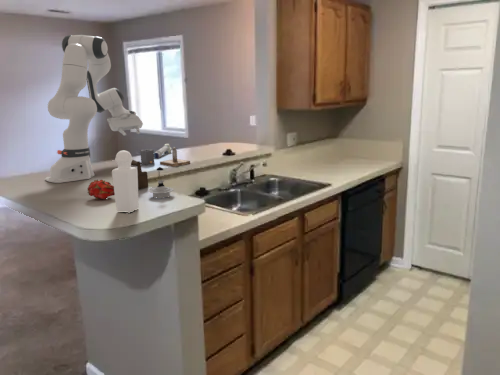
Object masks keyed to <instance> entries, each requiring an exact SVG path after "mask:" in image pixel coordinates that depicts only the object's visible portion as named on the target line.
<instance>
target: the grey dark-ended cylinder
mask: <svg viewBox="0 0 500 375" xmlns="http://www.w3.org/2000/svg"><path fill="white" fill-rule="evenodd" d="M172 150H173V147H171V145H170V143H165V144H164V145H163V146H162V147H161V148H159V149H158V150H156V151H155V152H154V159H159V158H160V157H161V158H162V155H163V154H172Z"/></svg>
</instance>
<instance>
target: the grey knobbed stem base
mask: <svg viewBox="0 0 500 375" xmlns="http://www.w3.org/2000/svg"><path fill="white" fill-rule="evenodd" d="M156 171H158V173H157V176H158V179H159V178H160V179H159V180H157V183H158V185H157V186H156V187H154V188H153V187H152V188H150V189H148V192H149V193H151V194H152V197H153V198H154V197H157V198H162V199H164V198H163V197H168V196H171V192H173V191H175V189H174V188H173V187H168V186H165V184H164V180H162V179H161V177H160V176H161V175H160V174H161V173H160V171H164V168H163V167H161V166H159V167H157V168H156ZM157 198H156V199H157ZM168 198H169V197H168Z"/></svg>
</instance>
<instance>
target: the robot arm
mask: <svg viewBox="0 0 500 375" xmlns="http://www.w3.org/2000/svg"><path fill="white" fill-rule="evenodd" d="M61 48H62V51H63V53H64V54H63V59H62V67H61V68H62V69H61V76H60V77H61V79H60V84H59V87H58V89H57V91H56V93H55V94H54V96H53V97H52V98H50V100H49V101H48V102H47V103H48V104H47V111H48V113H49V114H50V116H51V117H53V118H56V119H60V120H69V122H68V123H69V124H68V126H67V128H66V129H65V130H63V133H62V139H63V149H62V150H60V149H58V150H56V154H58V155H60V156H61V157H60V158H59V159H58V160H57V161H55V162H54V164H52V165H51V167H50V171H49V176H46V177H45V181H46V182H49V183H53V184H54V183H56V184H60V183H61V184H62V183H68V182H73V181H75V182H77V181H82V180H89V179H92V178H93V177H95V173H94V169H93V167H92V164H91V163H92V162H91V150H90V149H91V148H90V147H89V138H88V132H89V130H88V129H89V126H90V123H91V121H92V120H93V118H95V117H96V114H97V113H103V112H105V111H106V110H108V112H109V113H110V114H111V116H108V117H107V118H106V122H107V124H108V126H109V128H110V129H111V131H113V132H118V133H120V134H122V136H124V137H125V136H127V132H126V131H127V130H128V131H129V130H136V131H135V133H136V134H137V135H140V134H141V131H140V129H141V128H142V127H143V125H144V123H143V121H142V119H141V118H140V117H139V116H138V114H137V113H136V111H133V110H128V109H126V108H125V107H124V106H123V105H124V101H125V97H124V95H123V94H122V92H121V90H120V89H118V88H116V87H112V88H109V89H106V90H104V91H102V92H100V93H99V92H98V89H97V86H98V83H99V82H100V80H101V79H103V78H104V77H105V76H106V75H108V73H109V72H110V70H111V67H112V63H111V58H110V55H109V53H108V52H109V47H108V42H107V41H106V40H105V38H103V37H101V36H97V35H96V36H93V35H85V34H75V35H74V34H69V35H65V36H64V37H63V39H62V40H61ZM86 85H87V89H88V95H89V97H86V96H80V95H79V93H80V92H81V91H82V90H83V89H84V88H85V87H86Z"/></svg>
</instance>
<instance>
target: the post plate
mask: <svg viewBox="0 0 500 375" xmlns="http://www.w3.org/2000/svg"><path fill="white" fill-rule="evenodd" d="M171 154H172V155H171V156H172V158H171V159H169V160H161V161H159V165H162V166H168V167H173V168H174V167H178V166H185V165H189V164H191V161H190V160H186V159H179V158H178V150H177V147H175V146H172V149H171Z"/></svg>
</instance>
